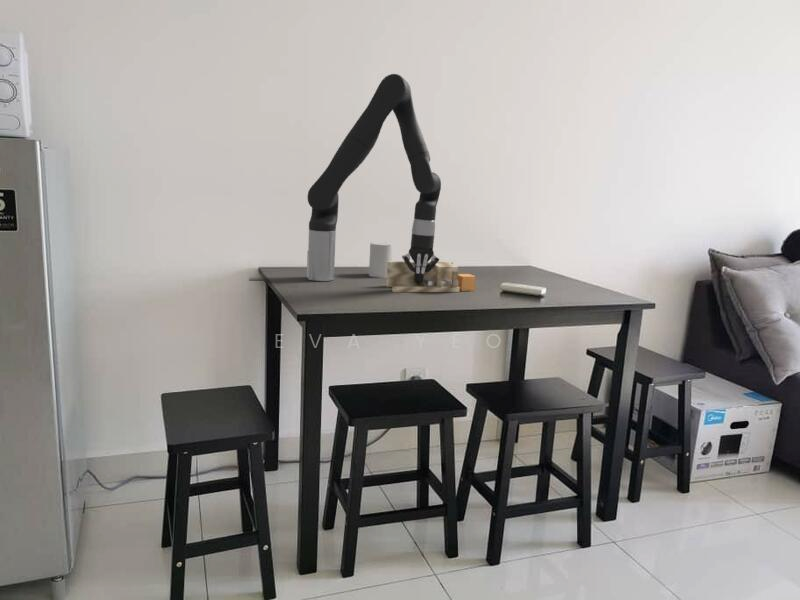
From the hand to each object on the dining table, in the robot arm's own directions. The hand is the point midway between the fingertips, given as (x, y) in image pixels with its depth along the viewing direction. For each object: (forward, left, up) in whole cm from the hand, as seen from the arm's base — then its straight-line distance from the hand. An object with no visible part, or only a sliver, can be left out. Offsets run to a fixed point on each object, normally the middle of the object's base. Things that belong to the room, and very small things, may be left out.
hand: (418, 283), depth 212 cm
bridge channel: (+2, 0, -2) cm, 2 cm away
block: (+17, 0, -2) cm, 17 cm away
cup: (-8, +24, -2) cm, 25 cm away
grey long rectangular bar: (+8, -1, -2) cm, 8 cm away
